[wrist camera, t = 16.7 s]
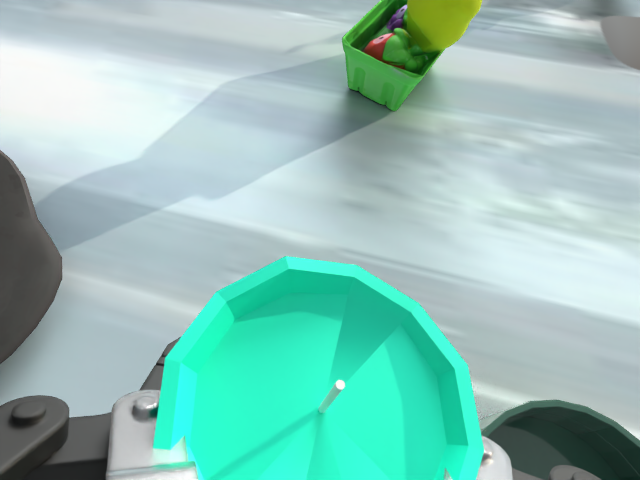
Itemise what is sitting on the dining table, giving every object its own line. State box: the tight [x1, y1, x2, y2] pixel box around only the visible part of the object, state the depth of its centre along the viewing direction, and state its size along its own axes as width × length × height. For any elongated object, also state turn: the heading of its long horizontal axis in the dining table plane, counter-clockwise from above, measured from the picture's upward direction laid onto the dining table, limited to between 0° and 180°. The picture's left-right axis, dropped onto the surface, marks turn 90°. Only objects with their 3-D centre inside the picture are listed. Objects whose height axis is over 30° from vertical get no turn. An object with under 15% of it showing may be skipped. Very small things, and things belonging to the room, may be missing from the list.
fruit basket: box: [342, 0, 482, 111], centre depth 40 cm, size 11×9×11 cm
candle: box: [153, 256, 484, 480], centre depth 12 cm, size 6×6×12 cm
